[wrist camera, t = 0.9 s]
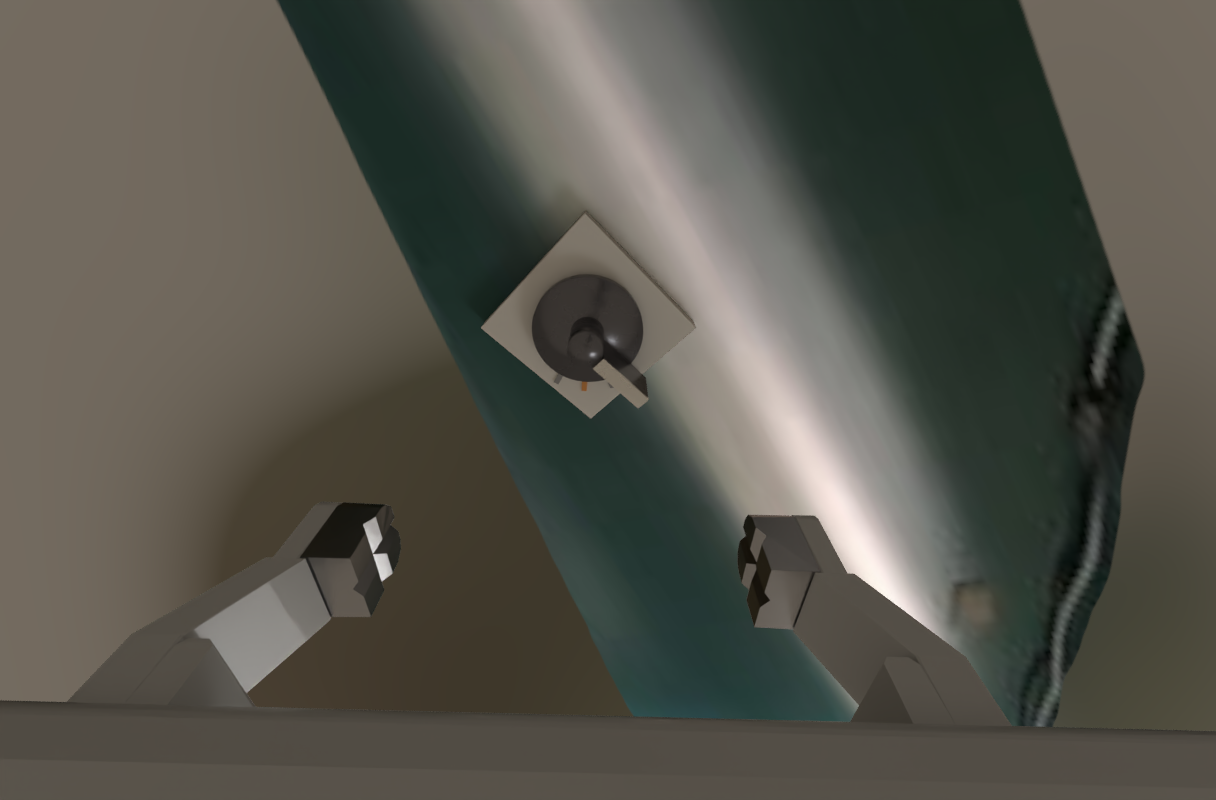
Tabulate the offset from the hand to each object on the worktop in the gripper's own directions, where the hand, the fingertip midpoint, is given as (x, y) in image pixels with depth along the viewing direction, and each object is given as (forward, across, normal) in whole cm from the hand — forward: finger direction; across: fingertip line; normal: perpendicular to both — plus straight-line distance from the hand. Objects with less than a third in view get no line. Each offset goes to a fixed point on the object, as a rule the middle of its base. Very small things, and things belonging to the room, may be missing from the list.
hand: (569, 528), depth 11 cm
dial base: (+34, +1, +8) cm, 35 cm away
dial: (+32, 0, +9) cm, 33 cm away
